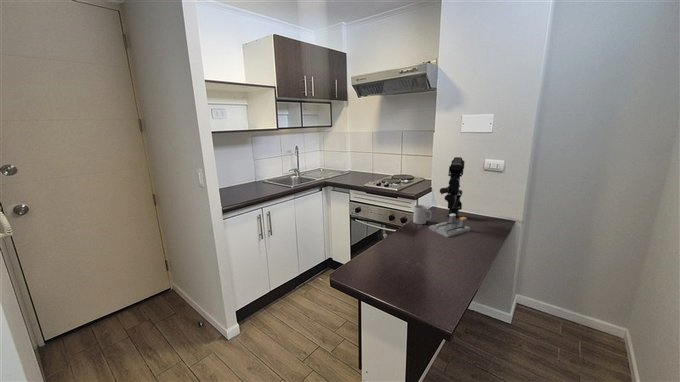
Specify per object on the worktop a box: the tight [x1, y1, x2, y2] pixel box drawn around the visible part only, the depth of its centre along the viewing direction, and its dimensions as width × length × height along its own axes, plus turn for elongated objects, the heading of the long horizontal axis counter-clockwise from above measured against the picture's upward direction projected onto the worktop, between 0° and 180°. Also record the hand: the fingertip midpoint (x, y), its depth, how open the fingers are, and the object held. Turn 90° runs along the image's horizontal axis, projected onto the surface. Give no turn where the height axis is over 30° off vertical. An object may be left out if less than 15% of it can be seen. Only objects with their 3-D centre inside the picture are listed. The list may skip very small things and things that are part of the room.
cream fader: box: [448, 213, 456, 223], centre depth 181 cm, size 3×2×5 cm
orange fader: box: [459, 216, 467, 227], centre depth 174 cm, size 3×2×5 cm
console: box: [428, 220, 471, 238], centre depth 176 cm, size 20×15×3 cm
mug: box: [412, 204, 433, 225], centre depth 188 cm, size 12×8×11 cm
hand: (452, 207), depth 179 cm, fingers open, 9 cm apart
